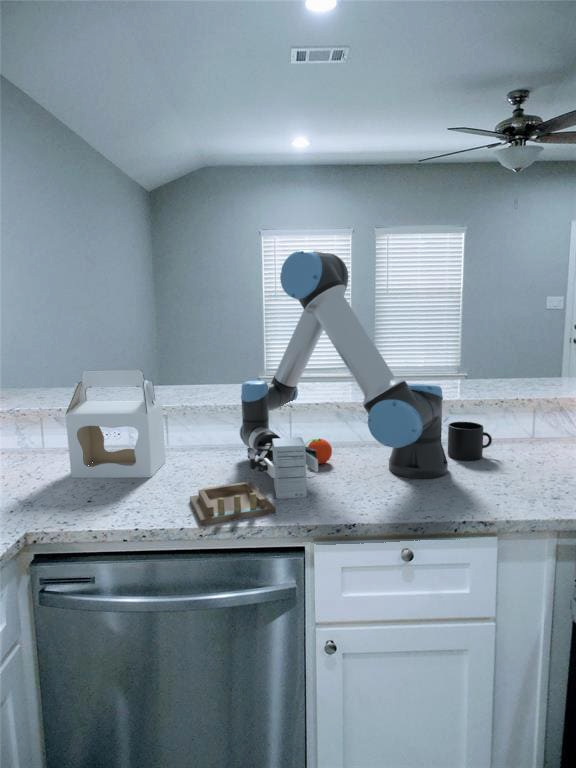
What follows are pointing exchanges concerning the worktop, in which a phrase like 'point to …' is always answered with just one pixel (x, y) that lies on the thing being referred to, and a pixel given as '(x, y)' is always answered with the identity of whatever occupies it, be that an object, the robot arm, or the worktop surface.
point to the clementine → (321, 449)
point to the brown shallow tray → (230, 503)
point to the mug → (466, 441)
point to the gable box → (113, 414)
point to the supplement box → (289, 467)
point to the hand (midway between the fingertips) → (295, 468)
